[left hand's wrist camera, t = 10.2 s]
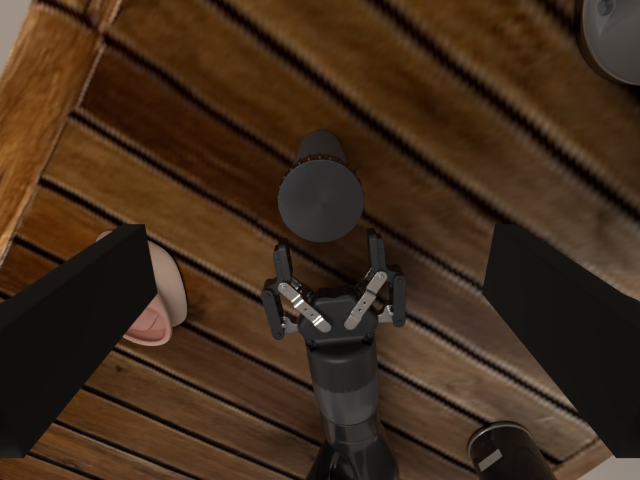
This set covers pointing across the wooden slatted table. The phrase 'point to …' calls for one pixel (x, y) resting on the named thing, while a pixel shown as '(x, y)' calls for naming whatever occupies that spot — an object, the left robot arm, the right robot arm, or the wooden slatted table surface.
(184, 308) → the anatomical model
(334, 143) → the bottle
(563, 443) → the wooden slatted table surface
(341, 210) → the lid
